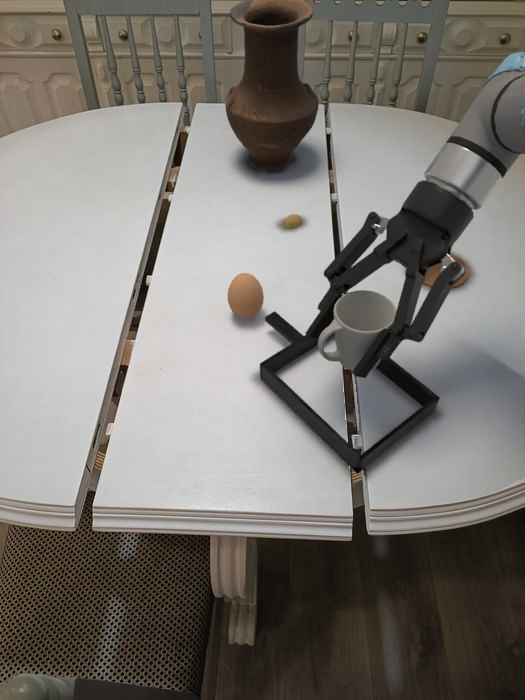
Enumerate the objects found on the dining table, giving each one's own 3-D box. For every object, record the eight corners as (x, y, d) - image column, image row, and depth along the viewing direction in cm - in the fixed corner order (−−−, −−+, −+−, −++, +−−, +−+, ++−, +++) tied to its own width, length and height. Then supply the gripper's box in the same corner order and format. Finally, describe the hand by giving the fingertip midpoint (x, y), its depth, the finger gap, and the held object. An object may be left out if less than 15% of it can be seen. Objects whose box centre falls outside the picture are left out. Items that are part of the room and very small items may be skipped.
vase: (218, 178, 115) (205, 23, 92) (241, 135, 127) (234, -11, 104) (306, 188, 112) (314, 30, 89) (321, 143, 124) (332, -6, 101)
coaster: (480, 272, 93) (480, 270, 93) (443, 297, 89) (444, 295, 89) (435, 245, 99) (435, 243, 98) (398, 267, 95) (398, 265, 94)
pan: (434, 412, 74) (440, 397, 72) (357, 474, 68) (360, 460, 66) (305, 307, 89) (306, 291, 86) (232, 350, 83) (230, 335, 80)
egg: (239, 298, 90) (236, 259, 84) (269, 308, 89) (269, 269, 82) (223, 320, 87) (218, 282, 81) (254, 331, 85) (253, 292, 79)
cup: (399, 366, 69) (409, 319, 63) (332, 393, 67) (336, 347, 61) (367, 329, 74) (374, 282, 68) (304, 353, 72) (305, 307, 65)
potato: (304, 224, 104) (305, 216, 102) (286, 230, 102) (286, 222, 101) (297, 217, 105) (298, 209, 104) (280, 223, 104) (280, 215, 103)
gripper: (533, 247, 59) (407, 408, 64) (393, 172, 69) (296, 316, 75) (521, 225, 52) (384, 406, 58) (370, 147, 63) (266, 305, 69)
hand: (334, 355), depth 67 cm, fingers closed on cup, 8 cm apart
